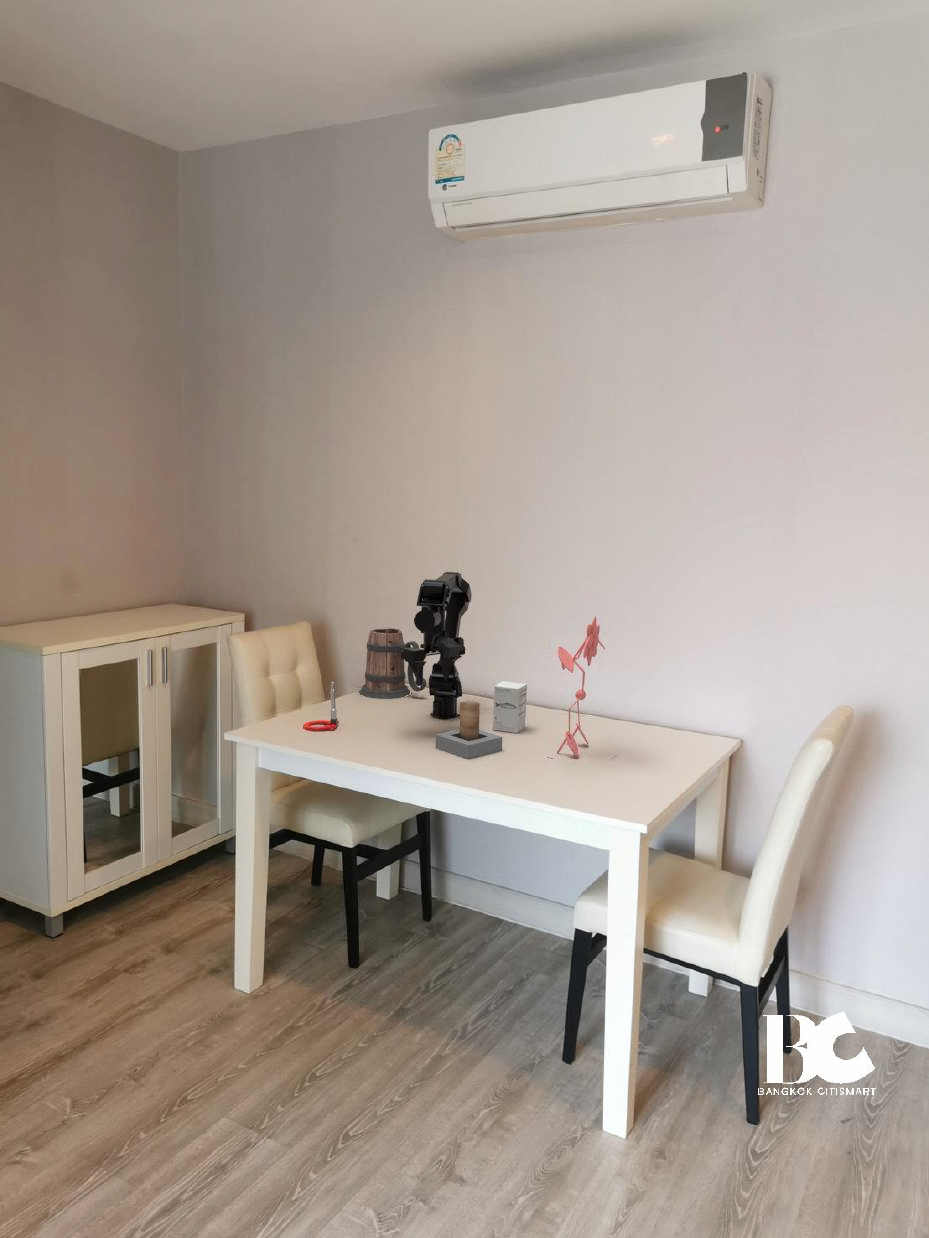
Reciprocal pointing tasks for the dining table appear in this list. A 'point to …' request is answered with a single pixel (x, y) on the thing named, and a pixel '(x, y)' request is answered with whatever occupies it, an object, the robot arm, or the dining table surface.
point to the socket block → (468, 744)
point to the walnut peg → (469, 720)
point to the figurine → (569, 662)
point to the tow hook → (329, 724)
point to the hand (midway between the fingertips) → (433, 682)
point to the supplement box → (509, 706)
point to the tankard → (387, 666)
